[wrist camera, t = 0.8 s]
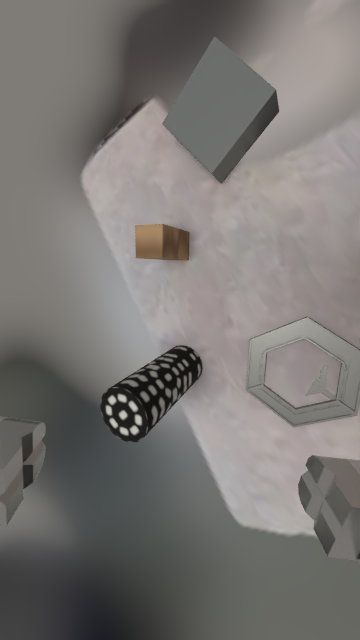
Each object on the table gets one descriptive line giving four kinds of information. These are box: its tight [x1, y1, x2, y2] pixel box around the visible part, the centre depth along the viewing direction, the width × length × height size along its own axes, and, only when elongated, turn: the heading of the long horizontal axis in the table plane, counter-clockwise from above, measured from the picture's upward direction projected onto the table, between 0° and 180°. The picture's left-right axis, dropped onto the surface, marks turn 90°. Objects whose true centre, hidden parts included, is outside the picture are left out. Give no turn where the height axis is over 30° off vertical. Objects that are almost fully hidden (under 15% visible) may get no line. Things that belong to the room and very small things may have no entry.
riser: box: [162, 37, 279, 183], centre depth 37 cm, size 12×12×5 cm
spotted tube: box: [101, 346, 202, 442], centre depth 43 cm, size 8×8×20 cm
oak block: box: [135, 224, 189, 260], centre depth 43 cm, size 5×5×10 cm
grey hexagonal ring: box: [246, 317, 360, 427], centre depth 41 cm, size 17×20×1 cm
